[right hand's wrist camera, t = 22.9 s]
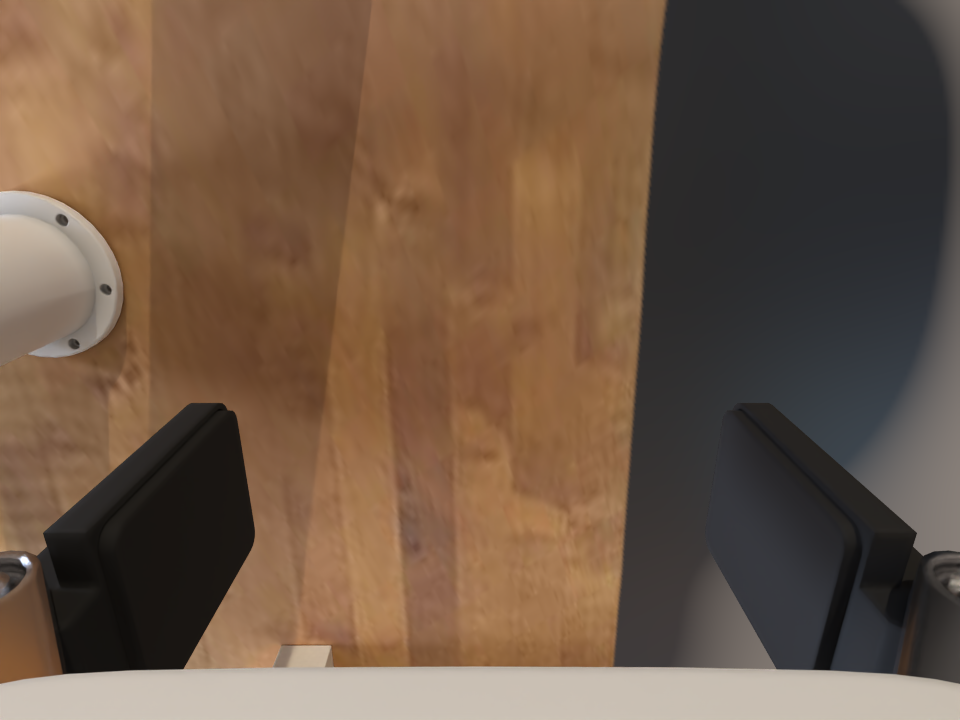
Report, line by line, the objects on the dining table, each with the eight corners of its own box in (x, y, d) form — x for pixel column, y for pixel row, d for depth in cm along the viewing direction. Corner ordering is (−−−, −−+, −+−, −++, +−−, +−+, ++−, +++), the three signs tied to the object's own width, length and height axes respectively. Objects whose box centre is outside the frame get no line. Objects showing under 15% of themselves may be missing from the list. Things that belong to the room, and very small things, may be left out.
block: (288, 695, 59) (261, 774, 52) (281, 645, 57) (251, 720, 50) (337, 695, 59) (316, 774, 52) (331, 645, 57) (309, 720, 50)
